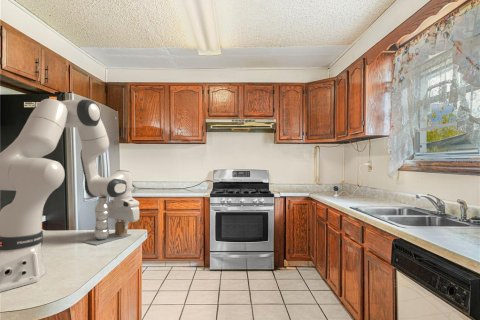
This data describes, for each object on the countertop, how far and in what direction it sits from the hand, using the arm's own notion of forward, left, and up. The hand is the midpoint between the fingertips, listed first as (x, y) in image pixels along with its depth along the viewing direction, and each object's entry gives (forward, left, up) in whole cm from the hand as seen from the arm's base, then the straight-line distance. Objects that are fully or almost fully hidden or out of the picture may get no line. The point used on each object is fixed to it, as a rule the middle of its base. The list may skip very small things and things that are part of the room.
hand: (122, 228), depth 145 cm
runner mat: (-9, 0, -3) cm, 9 cm away
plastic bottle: (-12, 0, -3) cm, 13 cm away
